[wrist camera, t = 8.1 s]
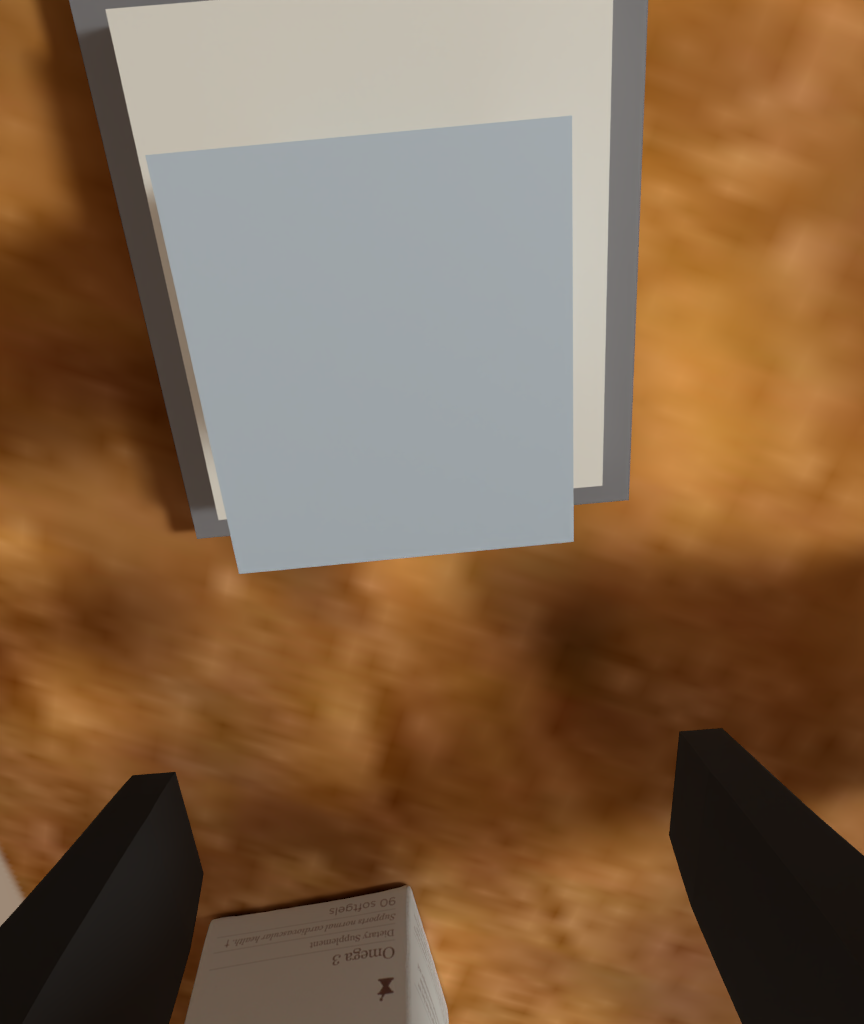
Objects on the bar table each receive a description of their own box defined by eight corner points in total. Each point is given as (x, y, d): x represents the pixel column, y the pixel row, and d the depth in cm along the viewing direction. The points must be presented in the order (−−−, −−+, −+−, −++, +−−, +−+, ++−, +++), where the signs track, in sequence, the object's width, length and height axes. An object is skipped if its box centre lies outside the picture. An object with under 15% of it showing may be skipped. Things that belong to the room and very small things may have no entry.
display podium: (620, 487, 20) (642, 520, 18) (204, 524, 19) (185, 561, 18) (638, -74, 14) (673, -109, 13) (76, -28, 14) (30, -56, 13)
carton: (492, 373, 16) (572, 542, 9) (309, 390, 16) (239, 573, 9) (481, 142, 14) (572, 115, 7) (272, 162, 14) (145, 154, 7)
